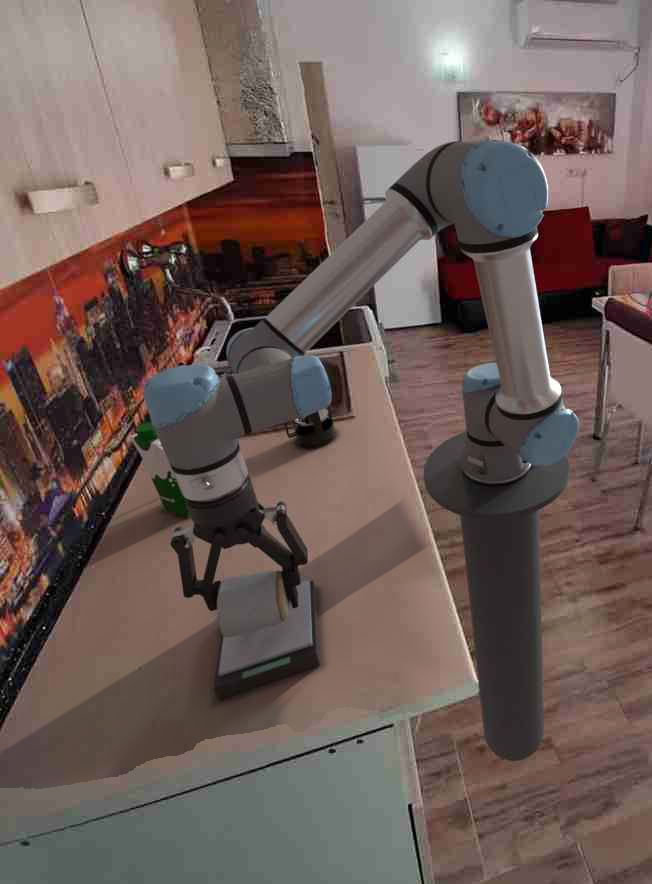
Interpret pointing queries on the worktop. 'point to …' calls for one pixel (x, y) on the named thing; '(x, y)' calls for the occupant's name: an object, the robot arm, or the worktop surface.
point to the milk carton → (159, 468)
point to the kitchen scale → (271, 649)
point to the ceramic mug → (252, 602)
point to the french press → (313, 429)
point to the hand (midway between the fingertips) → (262, 610)
